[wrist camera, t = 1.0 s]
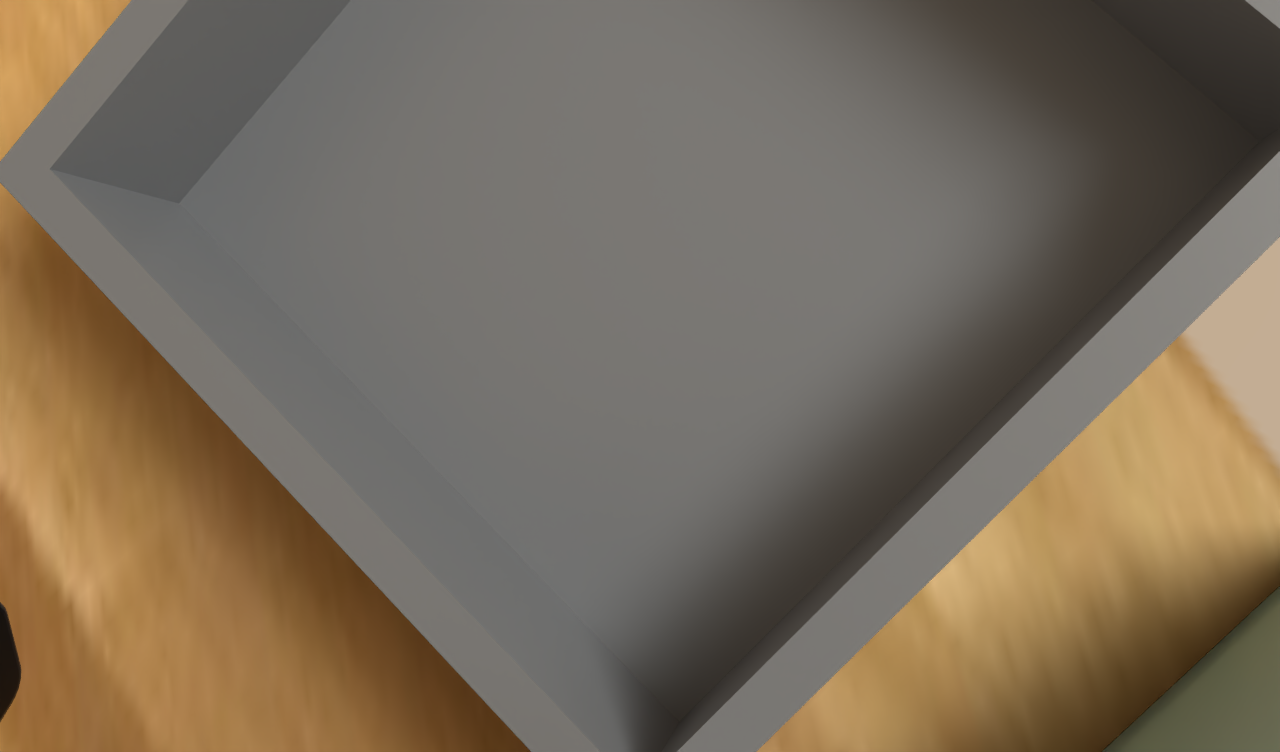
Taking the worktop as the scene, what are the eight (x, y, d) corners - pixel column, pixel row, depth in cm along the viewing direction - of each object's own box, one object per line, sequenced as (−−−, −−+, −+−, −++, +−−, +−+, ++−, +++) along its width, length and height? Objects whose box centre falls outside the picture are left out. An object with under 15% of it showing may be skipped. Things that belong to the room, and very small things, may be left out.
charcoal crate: (1318, 146, 20) (1441, 78, 15) (687, 771, 22) (639, 866, 18) (665, -397, 22) (611, -589, 18) (152, 212, 24) (-10, 172, 20)
